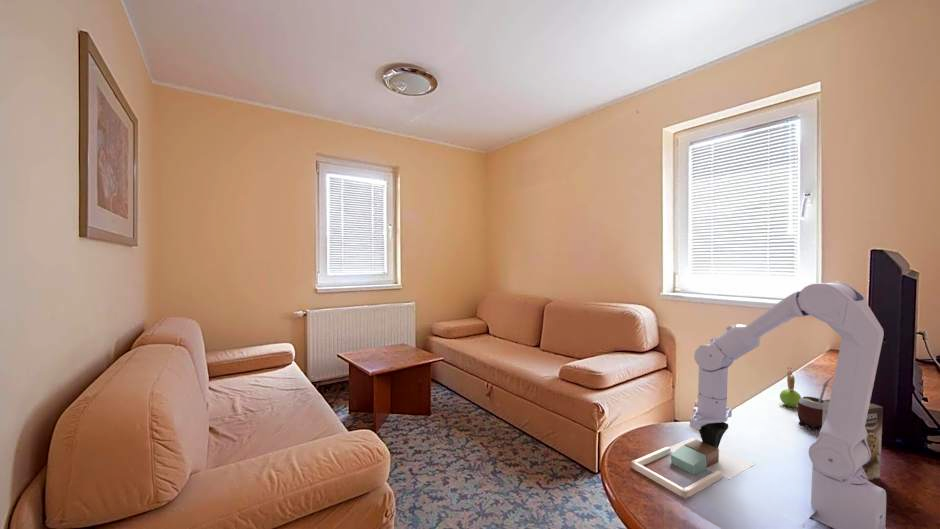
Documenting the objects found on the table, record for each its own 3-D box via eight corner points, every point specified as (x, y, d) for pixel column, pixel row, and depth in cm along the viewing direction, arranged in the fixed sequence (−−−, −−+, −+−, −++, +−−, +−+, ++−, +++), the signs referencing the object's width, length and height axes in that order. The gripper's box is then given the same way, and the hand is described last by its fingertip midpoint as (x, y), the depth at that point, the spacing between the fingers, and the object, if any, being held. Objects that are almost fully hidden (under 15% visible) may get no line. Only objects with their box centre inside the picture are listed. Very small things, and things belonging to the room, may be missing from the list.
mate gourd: (796, 427, 106) (798, 375, 106) (797, 418, 112) (799, 369, 112) (833, 436, 101) (835, 382, 101) (831, 426, 107) (833, 375, 107)
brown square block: (718, 461, 85) (718, 449, 85) (706, 467, 82) (707, 454, 82) (696, 451, 89) (696, 439, 89) (684, 457, 87) (684, 444, 87)
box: (721, 485, 79) (721, 472, 79) (685, 506, 72) (685, 491, 72) (666, 457, 89) (667, 446, 89) (630, 473, 82) (631, 461, 82)
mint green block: (706, 467, 82) (705, 455, 82) (694, 478, 80) (693, 465, 79) (684, 456, 87) (683, 445, 86) (671, 466, 84) (670, 454, 84)
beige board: (755, 470, 84) (755, 464, 84) (728, 486, 78) (728, 479, 78) (692, 442, 96) (692, 437, 96) (664, 455, 90) (664, 448, 90)
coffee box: (853, 484, 79) (856, 410, 79) (818, 468, 86) (821, 399, 85) (881, 478, 82) (885, 406, 81) (845, 462, 88) (848, 395, 88)
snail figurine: (798, 404, 123) (800, 368, 123) (803, 411, 118) (804, 373, 117) (777, 400, 126) (779, 365, 126) (781, 407, 121) (782, 370, 120)
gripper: (710, 384, 94) (708, 437, 95) (677, 394, 87) (675, 451, 87) (742, 393, 88) (740, 449, 88) (709, 405, 81) (707, 466, 81)
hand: (710, 451), depth 87 cm, fingers closed
